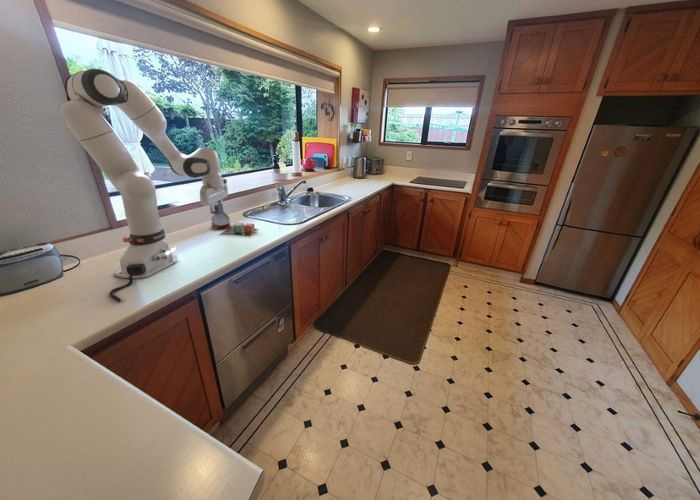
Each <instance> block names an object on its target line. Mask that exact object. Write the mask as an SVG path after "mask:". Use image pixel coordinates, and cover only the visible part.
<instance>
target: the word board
mask: <svg viewBox="0 0 700 500" xmlns="http://www.w3.org/2000/svg"><path fill="white" fill-rule="evenodd" d="M257 231H258V228H255V232H257ZM255 232H253V233H252V234H247V233H244V231H243V232H242V233H234V231H233V226H232V227H231V226H230V227H229V228H226V229H224V231H222V232H221V233H220V234H219V235H222V236H237V237H251V236H252V235H253V234H254V233H255Z"/></svg>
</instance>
